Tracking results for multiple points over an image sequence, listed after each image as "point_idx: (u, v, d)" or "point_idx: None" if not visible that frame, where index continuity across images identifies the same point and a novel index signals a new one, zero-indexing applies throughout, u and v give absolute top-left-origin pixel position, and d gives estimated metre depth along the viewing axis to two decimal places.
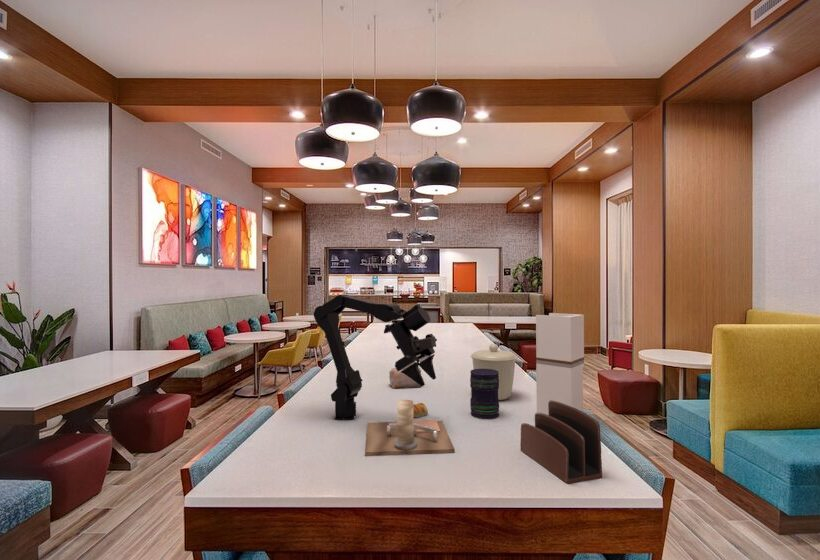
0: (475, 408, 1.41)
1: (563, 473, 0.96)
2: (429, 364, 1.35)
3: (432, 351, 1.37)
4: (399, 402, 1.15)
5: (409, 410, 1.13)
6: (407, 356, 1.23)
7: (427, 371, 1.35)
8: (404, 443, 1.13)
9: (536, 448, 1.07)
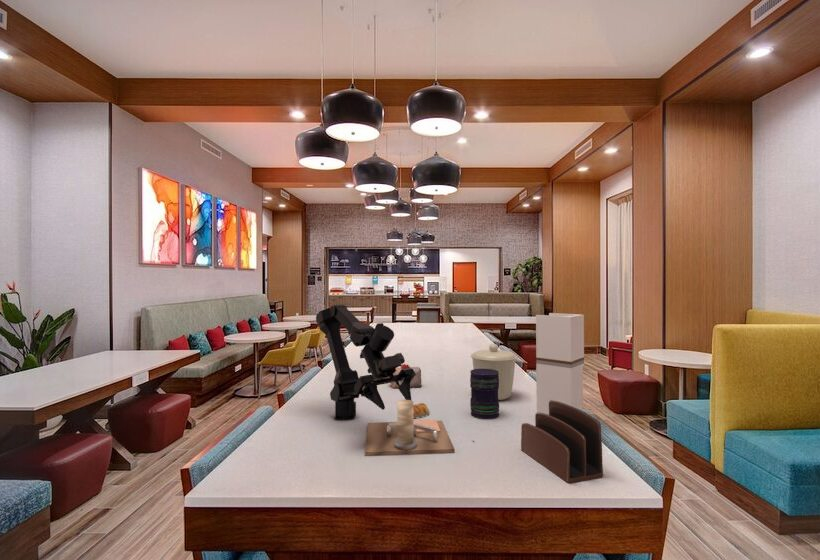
0: (475, 408, 1.41)
1: (564, 473, 0.97)
2: (405, 387, 1.23)
3: (409, 372, 1.25)
4: (399, 402, 1.15)
5: (409, 410, 1.13)
6: (360, 377, 1.17)
7: (404, 395, 1.23)
8: (404, 443, 1.13)
9: (537, 448, 1.07)
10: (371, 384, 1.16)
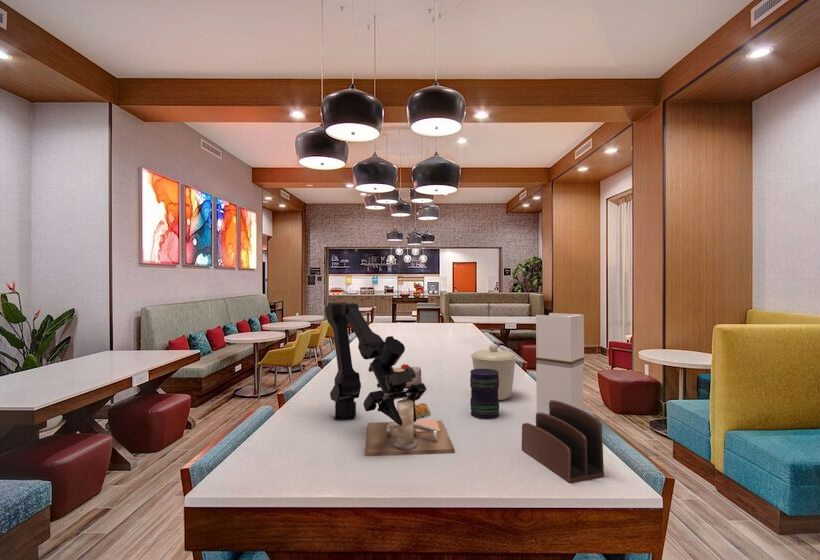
0: (475, 408, 1.41)
1: (565, 472, 0.97)
2: None
3: (420, 387, 1.21)
4: (399, 402, 1.15)
5: (409, 410, 1.13)
6: (370, 393, 1.13)
7: None
8: (404, 443, 1.13)
9: (538, 447, 1.07)
10: (388, 399, 1.13)
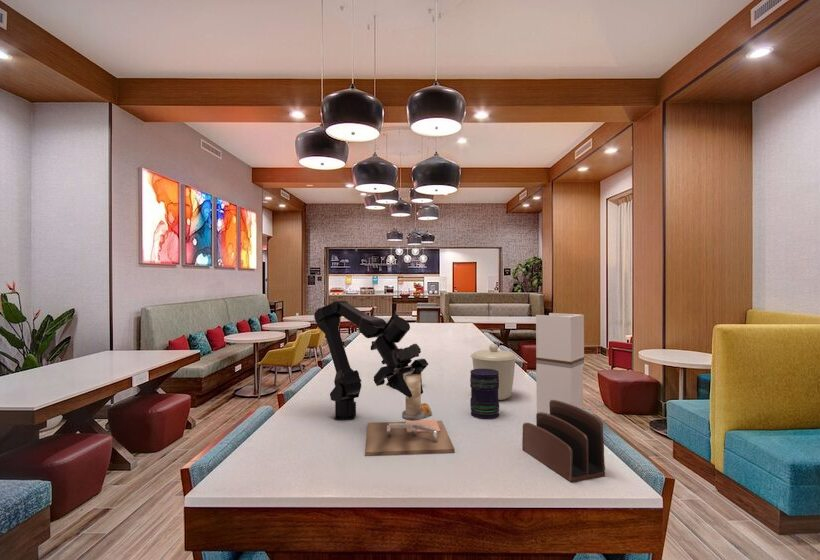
0: (475, 408, 1.41)
1: (567, 472, 0.97)
2: None
3: (423, 363, 1.28)
4: (407, 376, 1.21)
5: (418, 383, 1.20)
6: (381, 368, 1.17)
7: None
8: (413, 414, 1.19)
9: (539, 447, 1.07)
10: (398, 373, 1.19)
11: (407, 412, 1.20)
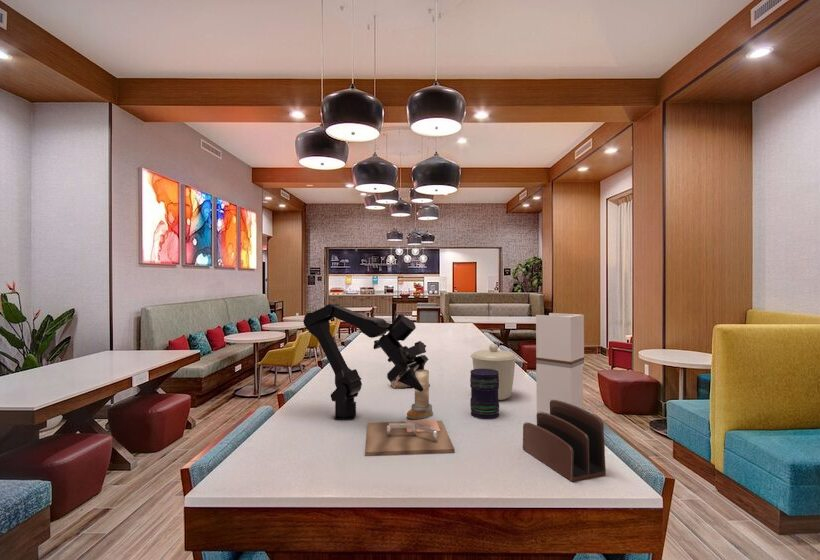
0: (475, 408, 1.41)
1: (568, 471, 0.97)
2: None
3: (425, 358, 1.37)
4: (417, 371, 1.29)
5: (427, 377, 1.28)
6: (397, 365, 1.23)
7: None
8: (424, 407, 1.27)
9: (539, 447, 1.07)
10: (411, 369, 1.26)
11: (418, 405, 1.28)
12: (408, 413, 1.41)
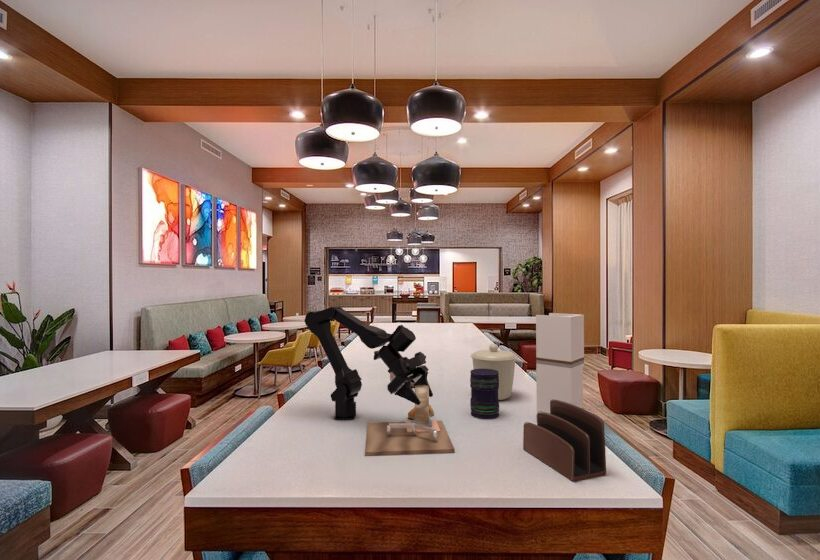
0: (475, 408, 1.41)
1: (569, 471, 0.97)
2: (424, 382, 1.35)
3: (425, 369, 1.37)
4: (417, 387, 1.29)
5: (428, 393, 1.28)
6: (397, 377, 1.23)
7: None
8: (424, 423, 1.28)
9: (540, 447, 1.08)
10: (407, 382, 1.24)
11: (418, 421, 1.28)
12: (409, 413, 1.41)
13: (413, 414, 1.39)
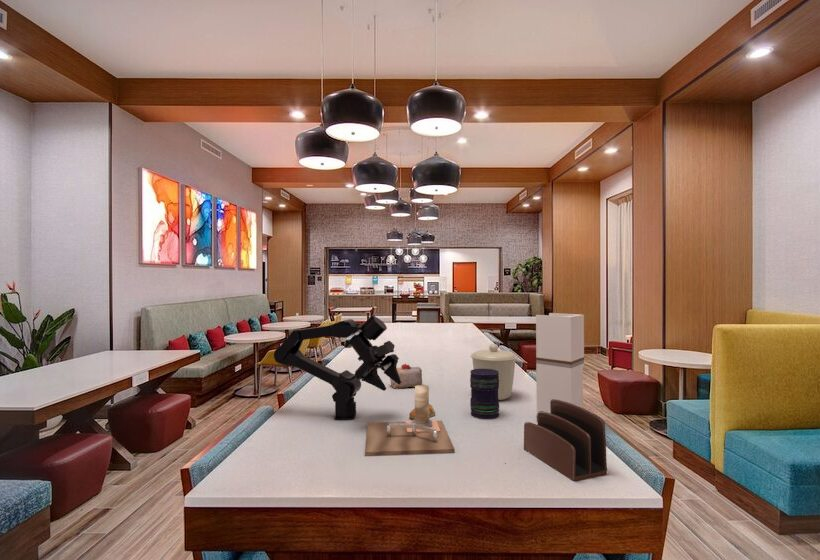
0: (475, 408, 1.41)
1: (570, 471, 0.97)
2: (393, 370, 1.41)
3: (395, 357, 1.43)
4: (417, 387, 1.29)
5: (427, 393, 1.28)
6: (363, 364, 1.30)
7: (392, 377, 1.41)
8: (424, 423, 1.28)
9: (541, 446, 1.08)
10: (374, 369, 1.30)
11: (418, 421, 1.28)
12: (411, 413, 1.40)
13: None
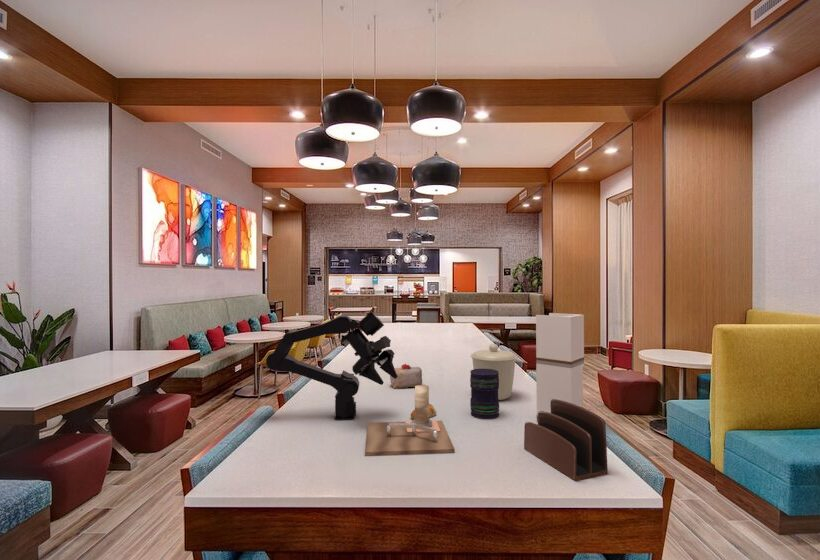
0: (475, 408, 1.41)
1: (571, 470, 0.98)
2: (389, 365, 1.43)
3: (391, 352, 1.45)
4: (417, 387, 1.29)
5: (427, 393, 1.28)
6: (361, 358, 1.31)
7: (388, 372, 1.43)
8: (424, 423, 1.28)
9: (541, 446, 1.08)
10: (371, 363, 1.32)
11: (418, 421, 1.28)
12: (412, 414, 1.40)
13: None
